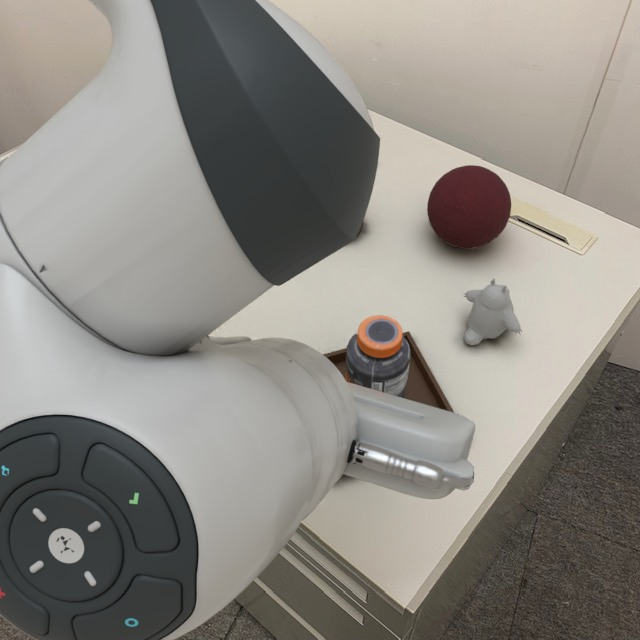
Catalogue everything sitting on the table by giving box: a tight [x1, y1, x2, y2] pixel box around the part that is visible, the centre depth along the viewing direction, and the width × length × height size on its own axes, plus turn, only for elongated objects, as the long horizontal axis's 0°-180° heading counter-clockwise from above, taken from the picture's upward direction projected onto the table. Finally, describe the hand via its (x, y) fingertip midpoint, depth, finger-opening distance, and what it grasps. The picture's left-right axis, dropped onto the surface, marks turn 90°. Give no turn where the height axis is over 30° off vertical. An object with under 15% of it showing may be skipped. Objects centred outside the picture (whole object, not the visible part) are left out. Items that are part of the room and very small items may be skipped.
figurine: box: [463, 277, 523, 346], centre depth 69 cm, size 8×6×8 cm
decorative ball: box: [426, 164, 512, 250], centre depth 79 cm, size 10×10×10 cm
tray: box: [322, 331, 455, 478], centre depth 65 cm, size 13×13×2 cm
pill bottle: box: [345, 314, 411, 398], centre depth 61 cm, size 6×6×11 cm
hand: (330, 389), depth 46 cm, fingers open, 8 cm apart
